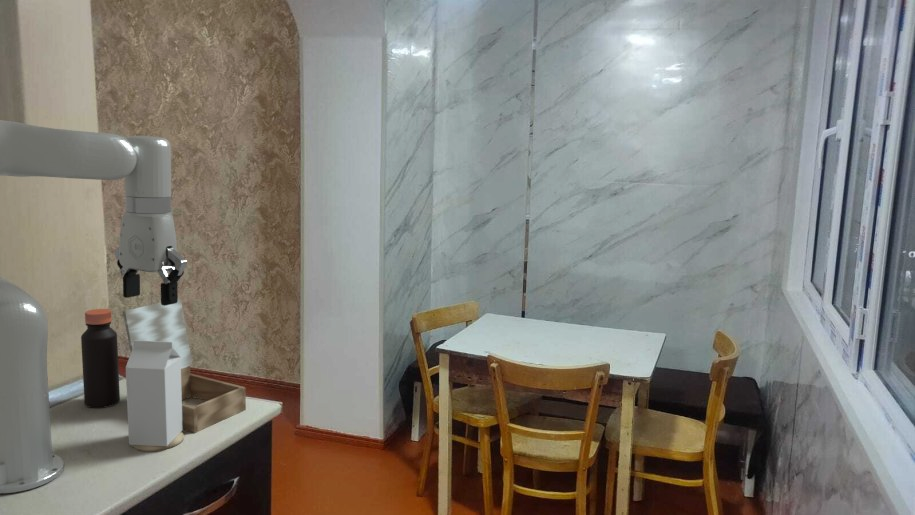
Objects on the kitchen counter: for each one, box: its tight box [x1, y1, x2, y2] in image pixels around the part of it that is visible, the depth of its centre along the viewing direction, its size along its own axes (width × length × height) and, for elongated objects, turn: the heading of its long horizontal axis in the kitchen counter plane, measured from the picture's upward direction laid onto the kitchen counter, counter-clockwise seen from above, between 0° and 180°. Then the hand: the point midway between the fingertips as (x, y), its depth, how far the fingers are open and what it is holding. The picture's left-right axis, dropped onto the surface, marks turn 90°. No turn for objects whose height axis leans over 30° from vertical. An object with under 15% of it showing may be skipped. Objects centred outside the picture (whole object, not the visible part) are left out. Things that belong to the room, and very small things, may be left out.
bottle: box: [80, 308, 121, 409], centre depth 148 cm, size 7×7×20 cm
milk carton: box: [125, 340, 184, 446], centre depth 130 cm, size 7×7×19 cm
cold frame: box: [122, 297, 247, 434], centre depth 145 cm, size 14×19×22 cm
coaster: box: [131, 432, 185, 452], centre depth 132 cm, size 9×9×1 cm
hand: (150, 300), depth 127 cm, fingers open, 9 cm apart
